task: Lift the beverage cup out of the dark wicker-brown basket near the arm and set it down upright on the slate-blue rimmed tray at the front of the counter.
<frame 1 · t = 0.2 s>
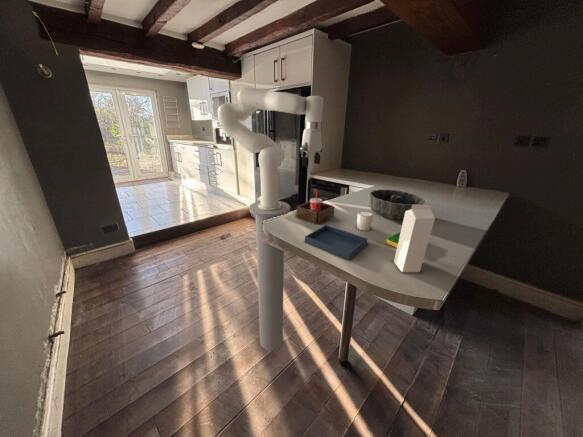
hand: (311, 164, 112), 25 cm above the table, tool pointing down, fingers open, 9 cm apart
milk: (406, 267, 77), on the table
basket: (315, 216, 117), on the table
beverage cup: (315, 217, 117), resting in basket
bundt pan: (392, 214, 123), on the table
dish sponge: (403, 242, 93), on the table
white cylinder: (363, 228, 105), on the table
tray: (335, 243, 91), on the table
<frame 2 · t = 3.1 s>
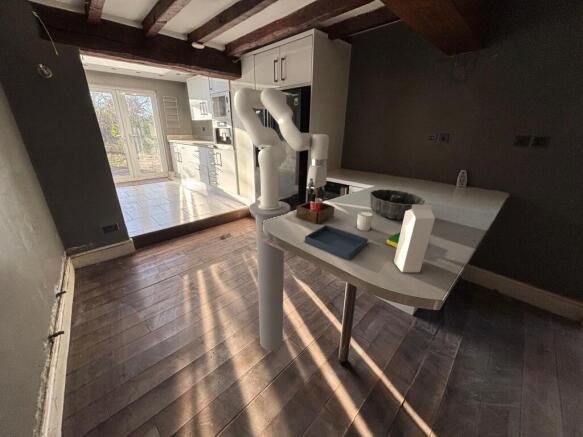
hand: (316, 199, 113), 9 cm above the table, tool pointing down, fingers closed on beverage cup, 6 cm apart
beverage cup: (315, 217, 117), resting in basket, touching gripper
everything else where it was.
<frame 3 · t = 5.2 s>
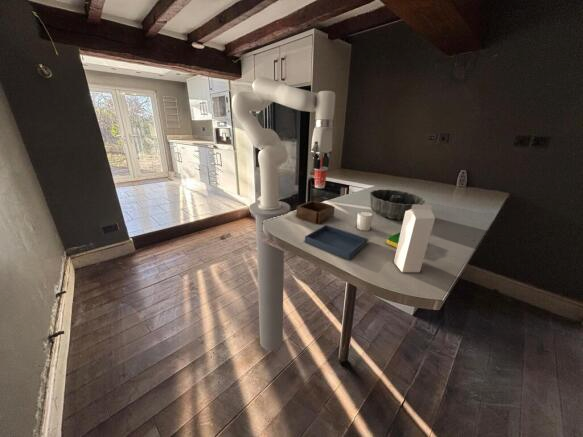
hand: (321, 167, 104), 25 cm above the table, tool pointing down, fingers closed on beverage cup, 6 cm apart
beverage cup: (319, 187, 107), point 16 cm above the table, touching gripper
everything else where it was.
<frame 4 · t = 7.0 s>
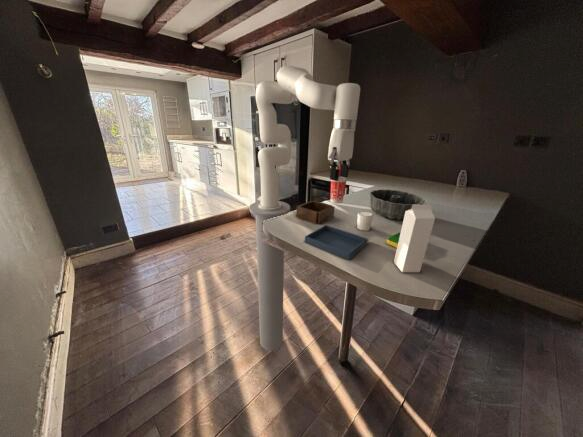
hand: (338, 178, 85), 25 cm above the table, tool pointing down, fingers closed on beverage cup, 6 cm apart
beverage cup: (336, 201, 88), point 16 cm above the table, touching gripper
everything else where it was.
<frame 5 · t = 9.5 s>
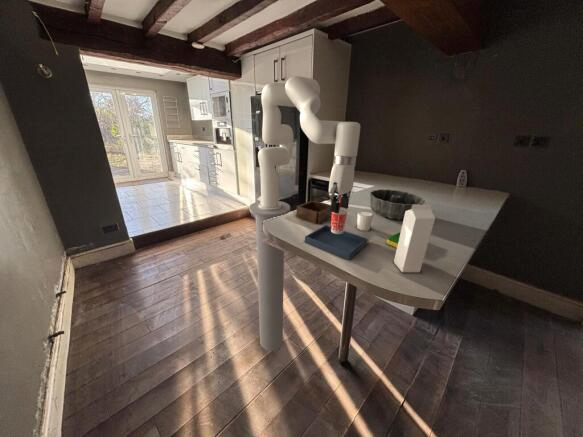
hand: (339, 209, 86), 14 cm above the table, tool pointing down, fingers closed on beverage cup, 6 cm apart
beverage cup: (336, 232, 89), point 5 cm above the table, touching gripper
everything else where it was.
when the fingers open (10 cm above the table, at t = 11.2 s): beverage cup stays where it is, resting on tray.
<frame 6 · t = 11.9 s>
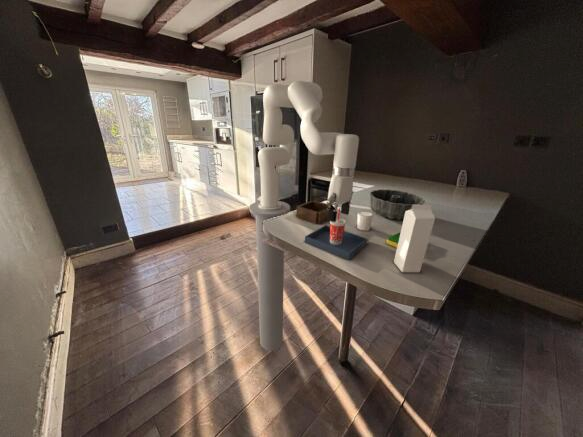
hand: (338, 217, 87), 11 cm above the table, tool pointing down, fingers open, 9 cm apart
beverage cup: (335, 242, 91), resting on tray
everything else where it was.
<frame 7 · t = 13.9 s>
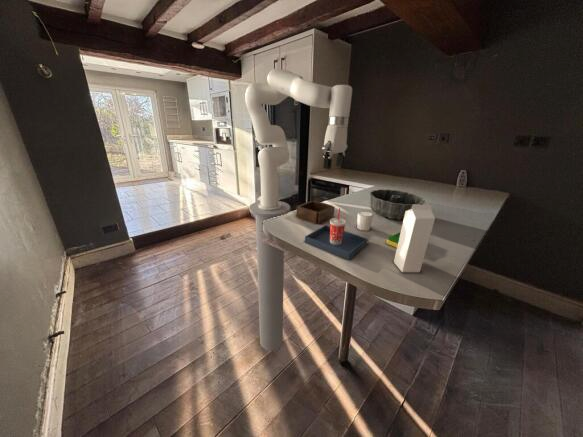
hand: (333, 167, 95), 27 cm above the table, tool pointing down, fingers open, 9 cm apart
nothing on the table moved.
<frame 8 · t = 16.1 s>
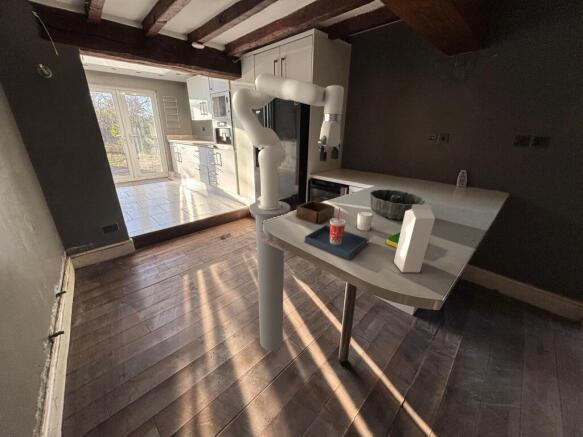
hand: (328, 160, 105), 28 cm above the table, tool pointing down, fingers open, 9 cm apart
nothing on the table moved.
at the end: beverage cup inside the target area in the tray (0.1 cm from its centre), point 0.3 cm above the tray's base; beverage cup tilted 0°; the gripper is holding nothing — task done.
